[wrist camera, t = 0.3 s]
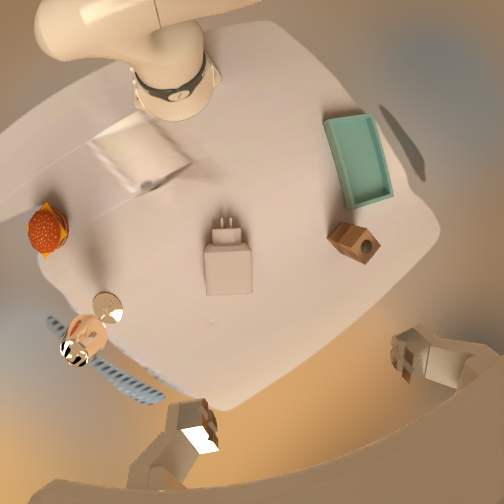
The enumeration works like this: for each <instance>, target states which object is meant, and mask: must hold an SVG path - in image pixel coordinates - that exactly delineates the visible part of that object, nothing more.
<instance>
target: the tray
mask: <svg viewBox="0 0 504 504" xmlns="http://www.w3.org/2000/svg"><path fill="white" fill-rule="evenodd" d="M323 126H324V129H325V132H326V135H327V138H328V141H329V145H330V148H331V151H332V155H333V158H334V162H335V165H336V169H337V173H338V177H339V180H340V184H341V188H342V192H343V196H344V200H345V204H346V209H356V208H359V207H362V206H365V205H369V204H372V203H375V202H378V201H381V200H384V199H387V198H391V197H394V194H393V190H392V185H391V180H390V176H389V172H388V167H387V163H386V159H385V156H384V152H383V148H382V144H381V141H380V137H379V134H378V131H377V127H376V124H375V121H374V118H373V115H372V113H370V114H362V115H354V116H347V117H340V118H334V119H328V120H326V121H324V122H323Z"/></svg>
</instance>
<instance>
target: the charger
mask: <svg viewBox="0 0 504 504" xmlns="http://www.w3.org/2000/svg"><path fill="white" fill-rule="evenodd" d="M229 223H230V228H224V227H223V218H221V228H217V229H212V243H213V244H208V245H207V246H206V248H205V249H204V264H205V280H206V294H207V296H225V295H241V294H250V293H252V292H253V291H252V250H251V248H250V247H249V246H248V245H247V244H246V243H244V242H242V241H241V228H232V218H229Z"/></svg>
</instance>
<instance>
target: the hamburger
mask: <svg viewBox="0 0 504 504" xmlns="http://www.w3.org/2000/svg"><path fill="white" fill-rule="evenodd" d="M26 229H27V231H28V236H29V239H30V241H31V244H32V247H34V248H35V249H36V250H37V251H39V252H40V253H41V254H42V255H43V256H44V257H45V259H46V258H47V256H48V255H49V254H50V253H51V252H53V251H54V250H55V249H58V248H60V247H61V246H63V245H64V243H65V241H66V240H67V237H68V232H69V229H68V222H67V220H66V218H65V216H64V215H63V214H62V213H61V212H60V211H59V210H56V209H51V208H50V206H49V204H48V202H46V203H45V204H44V205H43V206H42V207H41V209H40V210H39V211H37V212H35V214H34V215H33V217H32V218H31V220H30V221H29V224H28V225H27V227H26Z"/></svg>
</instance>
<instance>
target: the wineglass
mask: <svg viewBox="0 0 504 504" xmlns="http://www.w3.org/2000/svg"><path fill="white" fill-rule="evenodd" d="M93 310H94V312H95V314H96V316H97V317H98V318H97V317H96V316H94V315H92V314H81V315H79V316H77V317H76V318H75V319H73V320H72V322H71V323H70V325H69V326H68V328H67V330H66V332H65V334H64V337H63V339H62V342H61V346H60V351H61V354H62V356H63V358H64V359H65V360H66V361H67V362H68V363H69V364H71V365H72V366H74V367H84V366H85V365H87V364H88V363H89V362H90V361H92V360H93V359H94V358H95V357H96V356H97V355H98V354H99V353H100V352H101V351H102V349H103V348H104V346H105V344H106V342H107V331H106V328H105V326H104V324H103V322H105V323H108V324H113V323H116V322H118V321H119V320H120V319H121V317H122V314H123V309H122V305H121V303H120V301H119V300H118V299H117V298H116V297H115V296H113V295H112V294H109V293H101V294H99V295H97V296H96V297H95V299H94V301H93ZM102 321H103V322H102Z"/></svg>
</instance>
